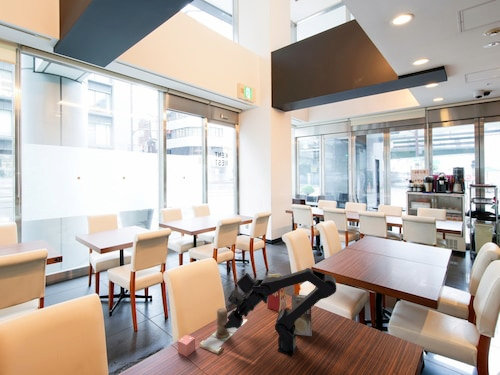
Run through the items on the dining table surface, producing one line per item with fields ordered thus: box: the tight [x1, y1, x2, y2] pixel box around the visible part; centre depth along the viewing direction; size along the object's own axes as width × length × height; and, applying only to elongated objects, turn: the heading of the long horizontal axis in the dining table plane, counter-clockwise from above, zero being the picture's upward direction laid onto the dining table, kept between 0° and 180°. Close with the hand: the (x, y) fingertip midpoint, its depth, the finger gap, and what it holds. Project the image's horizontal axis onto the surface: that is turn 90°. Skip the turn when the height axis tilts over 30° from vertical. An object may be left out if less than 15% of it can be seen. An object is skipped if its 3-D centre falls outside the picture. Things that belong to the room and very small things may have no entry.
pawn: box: [215, 307, 229, 340], centre depth 115 cm, size 6×6×11 cm
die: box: [177, 334, 196, 358], centre depth 107 cm, size 5×5×5 cm
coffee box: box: [291, 293, 313, 337], centre depth 120 cm, size 9×6×16 cm
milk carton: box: [266, 273, 288, 313], centre depth 140 cm, size 9×9×20 cm
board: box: [198, 317, 248, 355], centre depth 118 cm, size 10×26×1 cm, turn 150°
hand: (228, 321), depth 114 cm, fingers open, 9 cm apart
